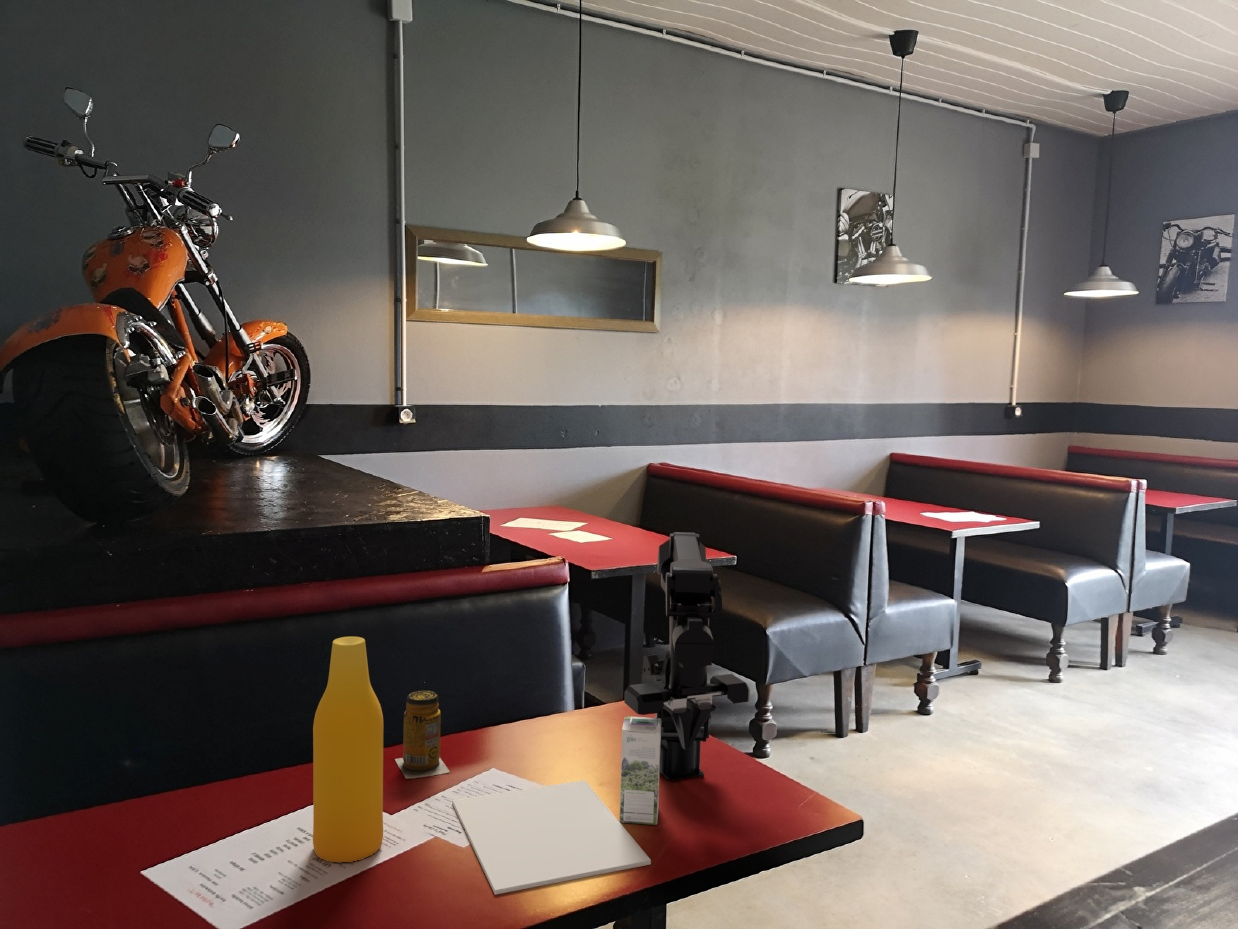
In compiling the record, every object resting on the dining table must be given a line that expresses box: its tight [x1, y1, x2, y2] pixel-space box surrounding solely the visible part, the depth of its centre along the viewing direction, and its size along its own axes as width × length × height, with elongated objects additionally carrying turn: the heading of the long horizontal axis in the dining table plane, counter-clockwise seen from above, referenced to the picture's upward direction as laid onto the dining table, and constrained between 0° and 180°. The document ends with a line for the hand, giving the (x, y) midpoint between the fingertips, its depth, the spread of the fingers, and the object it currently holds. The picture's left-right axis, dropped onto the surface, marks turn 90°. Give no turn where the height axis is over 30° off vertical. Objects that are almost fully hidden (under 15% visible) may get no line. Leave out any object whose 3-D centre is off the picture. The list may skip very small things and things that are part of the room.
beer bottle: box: [312, 636, 384, 863], centre depth 121 cm, size 9×9×29 cm
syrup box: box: [619, 715, 661, 826], centre depth 133 cm, size 6×6×14 cm
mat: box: [451, 779, 652, 895], centre depth 128 cm, size 22×26×1 cm
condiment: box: [394, 690, 451, 779], centre depth 148 cm, size 7×8×12 cm
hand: (685, 748), depth 135 cm, fingers closed
